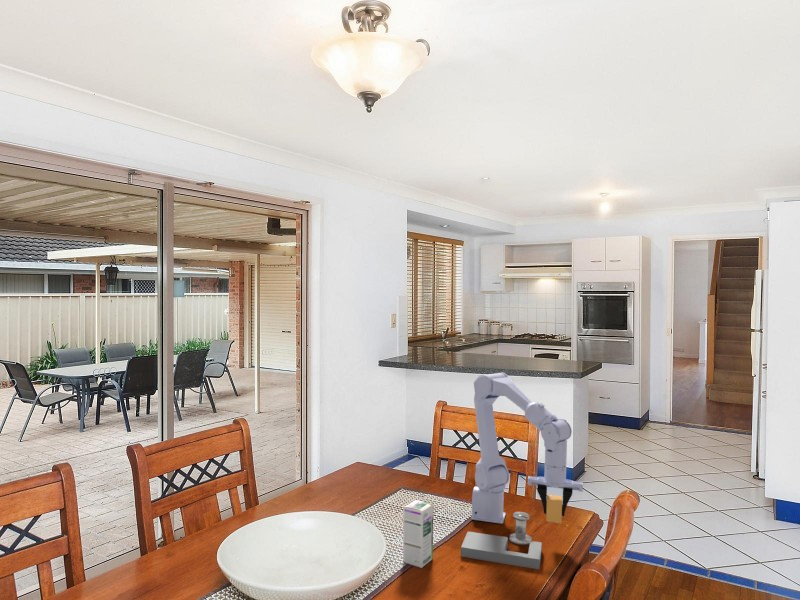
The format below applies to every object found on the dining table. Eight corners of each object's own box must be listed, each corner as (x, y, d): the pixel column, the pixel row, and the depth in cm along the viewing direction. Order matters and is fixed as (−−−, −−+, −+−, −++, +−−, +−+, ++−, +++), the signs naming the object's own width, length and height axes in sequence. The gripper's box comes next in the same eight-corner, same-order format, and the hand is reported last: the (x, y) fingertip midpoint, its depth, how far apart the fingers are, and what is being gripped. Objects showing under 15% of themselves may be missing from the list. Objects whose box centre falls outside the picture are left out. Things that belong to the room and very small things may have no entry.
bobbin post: (508, 543, 156) (509, 517, 156) (510, 534, 162) (511, 509, 162) (530, 546, 154) (531, 520, 154) (532, 537, 160) (532, 512, 160)
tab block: (546, 521, 154) (546, 499, 154) (546, 515, 158) (547, 494, 158) (561, 523, 153) (562, 501, 153) (561, 517, 157) (562, 496, 157)
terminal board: (460, 556, 148) (460, 547, 148) (467, 540, 157) (467, 531, 157) (539, 569, 142) (539, 559, 142) (541, 551, 151) (541, 542, 151)
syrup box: (422, 568, 141) (423, 511, 141) (402, 562, 144) (403, 505, 144) (433, 559, 146) (434, 503, 145) (413, 553, 149) (414, 498, 149)
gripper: (527, 465, 153) (526, 515, 154) (583, 471, 149) (582, 523, 150) (529, 458, 160) (528, 506, 161) (583, 464, 156) (581, 513, 156)
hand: (554, 513), depth 155 cm, fingers closed on tab block, 4 cm apart
